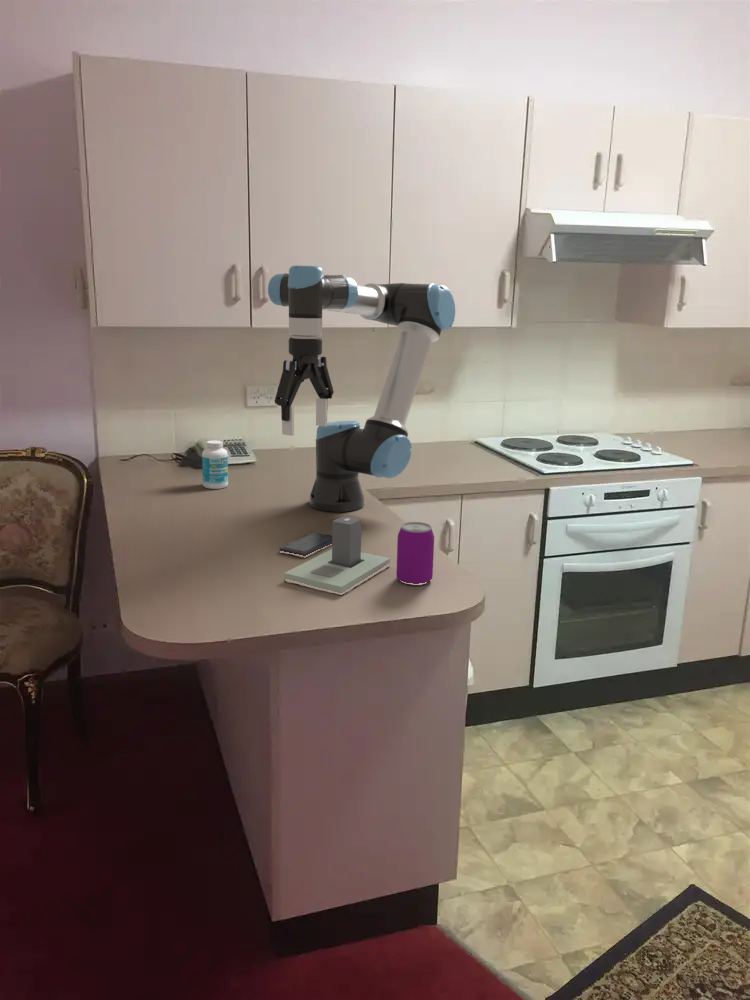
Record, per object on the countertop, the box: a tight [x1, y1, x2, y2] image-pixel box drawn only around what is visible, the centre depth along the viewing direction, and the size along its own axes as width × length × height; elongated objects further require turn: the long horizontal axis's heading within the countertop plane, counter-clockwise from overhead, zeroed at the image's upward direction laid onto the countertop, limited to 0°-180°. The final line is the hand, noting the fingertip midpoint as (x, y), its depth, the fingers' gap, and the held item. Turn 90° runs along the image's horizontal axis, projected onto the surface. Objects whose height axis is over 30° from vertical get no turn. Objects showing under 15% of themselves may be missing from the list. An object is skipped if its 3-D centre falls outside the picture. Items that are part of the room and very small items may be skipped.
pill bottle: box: [201, 440, 229, 490], centre depth 239 cm, size 8×7×14 cm
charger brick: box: [331, 515, 362, 568], centre depth 175 cm, size 4×4×11 cm
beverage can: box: [395, 521, 435, 584], centre depth 170 cm, size 8×8×12 cm
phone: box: [279, 532, 332, 556], centre depth 190 cm, size 14×7×1 cm, turn 150°
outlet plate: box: [283, 548, 391, 593], centre depth 174 cm, size 20×14×2 cm
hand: (305, 430), depth 188 cm, fingers open, 13 cm apart
